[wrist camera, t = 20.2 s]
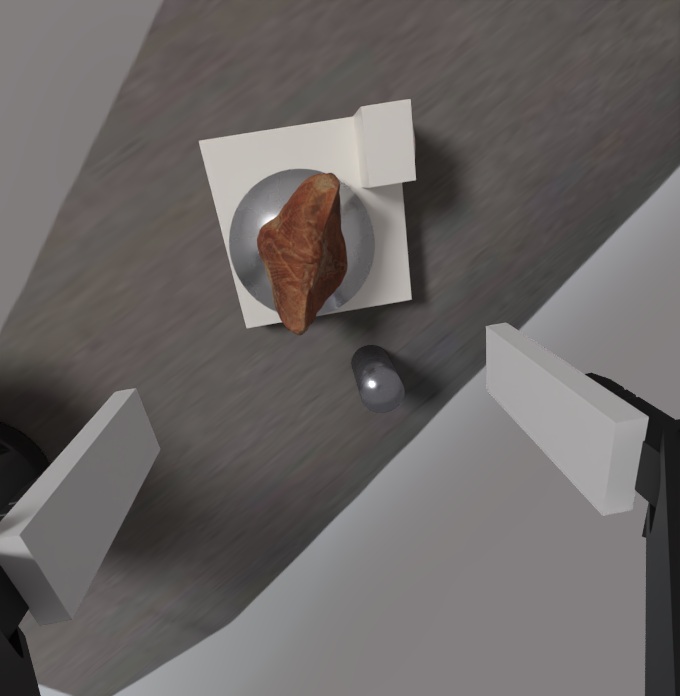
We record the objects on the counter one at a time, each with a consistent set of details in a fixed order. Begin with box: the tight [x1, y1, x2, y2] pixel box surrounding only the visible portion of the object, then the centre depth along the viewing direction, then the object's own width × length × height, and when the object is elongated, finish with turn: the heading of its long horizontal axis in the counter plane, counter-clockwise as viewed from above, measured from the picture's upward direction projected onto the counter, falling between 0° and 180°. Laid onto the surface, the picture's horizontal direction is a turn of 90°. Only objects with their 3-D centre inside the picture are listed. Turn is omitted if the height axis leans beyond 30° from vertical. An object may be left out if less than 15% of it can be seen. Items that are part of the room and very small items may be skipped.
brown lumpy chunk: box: [257, 173, 348, 335], centre depth 36 cm, size 13×8×10 cm
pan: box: [229, 169, 375, 316], centre depth 39 cm, size 14×14×2 cm
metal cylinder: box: [351, 345, 405, 413], centre depth 45 cm, size 5×5×8 cm
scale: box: [199, 99, 416, 328], centre depth 39 cm, size 18×18×8 cm
